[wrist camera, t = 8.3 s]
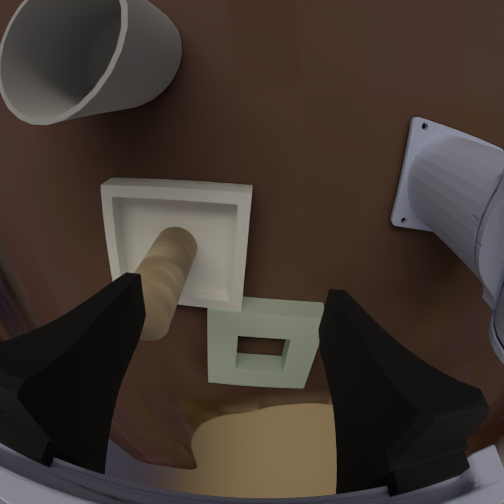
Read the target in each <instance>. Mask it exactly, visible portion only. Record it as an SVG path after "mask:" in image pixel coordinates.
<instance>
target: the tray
mask: <svg viewBox="0 0 504 504" xmlns="http://www.w3.org/2000/svg"><path fill="white" fill-rule="evenodd" d="M252 188H253V185H245V184H233V183H220V182H206V181H189V180H170V179H145V178H111V179H109V180H108V181H106V182H104V183H103V184H101V198H102V208H103V218H104V226H105V234H106V242H107V249H108V256H109V262H110V268H111V274H112V280H113V281H114V280H116V279H117V278H118V277H120V276H121V275H123V274H124V273H126V272H128V273H135V271H136V269H137V268H138V266H139V265H140V263H141V261H142V260H143V258H144V257H145V255H146V254H147V252H148V251H149V249H150V248H151V246H152V245H153V243H154V242H155V240H156V239H157V237H158V236H159V234H160V233H161V232H162V231H163V230H164V229H166V228H169V227H180V228H183V229H185V230H187V231H188V232H190V233H191V234H192V235H193V237H194V238H195V240H196V243H197V252H196V255H195V258H194V260H193V263H192V266H191V268H190V271H189V274H188V276H187V279H186V282H185V285H184V287H183V290H182V293H181V295H180V298H179V301H178V305H187V306H196V307H205V308H215V309H225V310H235V311H241V309H242V298H243V287H244V276H245V264H246V253H247V242H248V231H249V220H250V210H251V199H252Z"/></svg>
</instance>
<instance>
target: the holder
mask: <svg viewBox="0 0 504 504" xmlns="http://www.w3.org/2000/svg"><path fill="white" fill-rule="evenodd" d="M323 311H324V305H323V303H322V302H306V301H291V300H278V299H265V298H253V297H243V298H242V309H241V311H235V310H225V309H215V308H208V309H207V327H208V382H212V383H222V384H232V385H244V386H258V387H277V388H304V386H305V383H306V380H307V377H308V375H309V372H310V369H311V366H312V363H313V360H314V357H315V354H316V351H317V348H318V345H319V333H318V328H319V325H320V321H321V318H322V315H323ZM238 336H247V337H260V338H275V339H286V340H285V344H284V348H283V353H282V356H273V355H258V354H245V353H237V341H238Z"/></svg>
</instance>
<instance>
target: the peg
mask: <svg viewBox="0 0 504 504" xmlns="http://www.w3.org/2000/svg"><path fill="white" fill-rule="evenodd" d="M196 252H197V243H196V240H195V238H194V237H193V235H192V234H191V233H190V232H188V231H187V230H185V229H183V228H180V227H169V228H166V229H164V230H163V231H162V232H161V233H160V234H159V236H158V237H157V239H156V240H155V242H154V243H153V245H152V246H151V248H150V249H149V251H148V252H147V254H146V255H145V257H144V258H143V260H142V261H141V263H140V265H139V266H138V268H137V269H136V271H135V273H137V274H141V281H142V289H143V296H144V304H145V310H146V318H145V322H144V325H143V329H142V333H141V336H140V339H141V340H146V341H154V340H158V339H161V338H162V337H164V336H165V335H166V334H167V332H168V329H169V327H170V324H171V321H172V318H173V315H174V312H175V309H176V307H177V304H178V301H179V298H180V295H181V293H182V290H183V287H184V285H185V282H186V279H187V276H188V274H189V271H190V268H191V266H192V263H193V260H194V258H195V255H196Z"/></svg>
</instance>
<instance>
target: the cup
mask: <svg viewBox="0 0 504 504" xmlns="http://www.w3.org/2000/svg"><path fill="white" fill-rule="evenodd" d="M181 57H182V40H181V37H180V34H179V32H178V29H177V28H176V26H175V25H174V24H173V22H172V21H171V20H170V19H169V17H168V16H166V15H165V14H164V13H163V12H161V11H160V10H159V9H158V8H156V7H155V6H154V5H152V4H151V3H150V2H148V1H147V0H24V2H23V3H22V4H21V5H20V6H19V7H18V9H17V11H16V12H15V14H14V16H13V17H12V19H11V21H10V22H9V24H8V26H7V29H6V31H5V34H4V36H3V39H2V42H1V45H0V92H1V96H2V98H3V99H4V101H5V103H6V105H7V107H8V109H9V110H10V111H11V112H12V113H13V114H14V115H16V116H17V117H18V118H19V119H21V120H23V121H25V122H28V123H30V124H36V125H49V124H53V123H57V122H62V121H66V120H70V119H75V118H80V117H84V116H90V115H95V114H100V113H106V112H112V111H118V110H124V109H129V108H135V107H138V106H141V105H143V104H145V103H147V102H149V101H152V100H153V99H154V98H156V97H157V96H158V95H159V94H161V93H162V92H163V91H164V90H165V89H166V88H167V86H168V85H169V84H170V83H171V82H172V80H173V78H174V76H175V75H176V73H177V71H178V69H179V66H180V61H181Z"/></svg>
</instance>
